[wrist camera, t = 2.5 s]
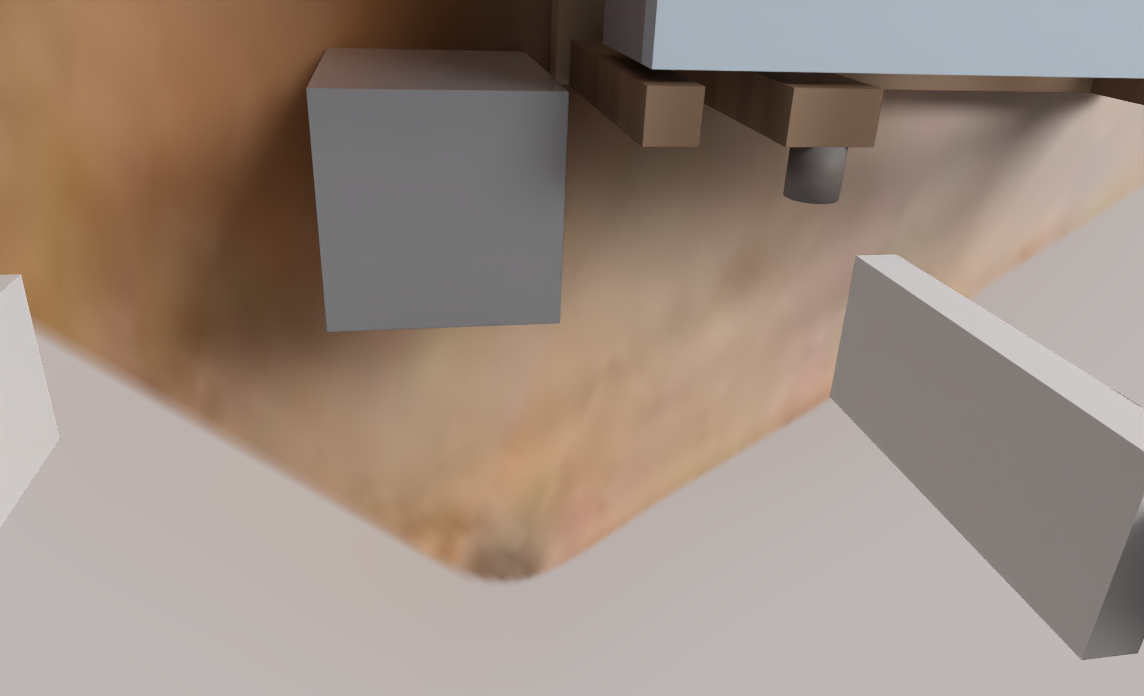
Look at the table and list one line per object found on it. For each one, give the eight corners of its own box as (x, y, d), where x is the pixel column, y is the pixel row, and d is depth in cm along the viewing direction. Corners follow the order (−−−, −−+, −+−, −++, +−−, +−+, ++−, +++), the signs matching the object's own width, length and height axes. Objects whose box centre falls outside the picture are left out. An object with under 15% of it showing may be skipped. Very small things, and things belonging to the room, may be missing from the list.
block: (341, 237, 26) (326, 332, 20) (327, 47, 24) (305, 88, 18) (521, 234, 27) (559, 323, 21) (524, 51, 25) (568, 91, 19)
